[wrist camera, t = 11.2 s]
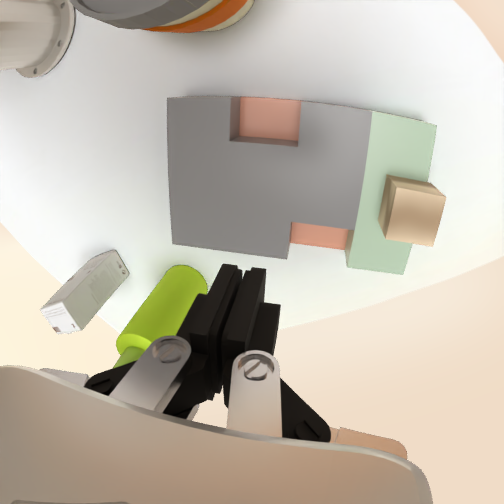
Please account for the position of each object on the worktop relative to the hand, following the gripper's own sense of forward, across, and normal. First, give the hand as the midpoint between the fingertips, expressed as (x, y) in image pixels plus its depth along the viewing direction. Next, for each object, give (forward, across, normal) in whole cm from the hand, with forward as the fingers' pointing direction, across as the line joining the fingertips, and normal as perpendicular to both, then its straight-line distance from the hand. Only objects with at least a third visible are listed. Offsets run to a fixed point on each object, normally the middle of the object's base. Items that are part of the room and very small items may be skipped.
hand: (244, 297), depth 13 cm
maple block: (+17, -11, +1) cm, 21 cm away
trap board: (+21, -1, +1) cm, 21 cm away
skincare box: (+22, +24, +16) cm, 36 cm away
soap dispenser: (+22, +12, +17) cm, 30 cm away
